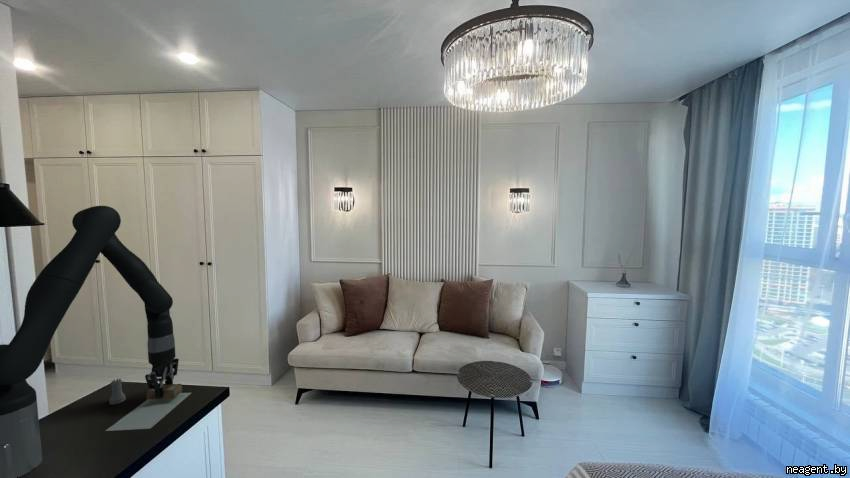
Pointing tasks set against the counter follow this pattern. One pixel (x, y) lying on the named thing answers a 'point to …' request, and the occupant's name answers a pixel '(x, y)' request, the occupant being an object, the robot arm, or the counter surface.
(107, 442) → the counter surface
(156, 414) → the grey mat
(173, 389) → the brown rectangular block
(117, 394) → the rook chess piece
